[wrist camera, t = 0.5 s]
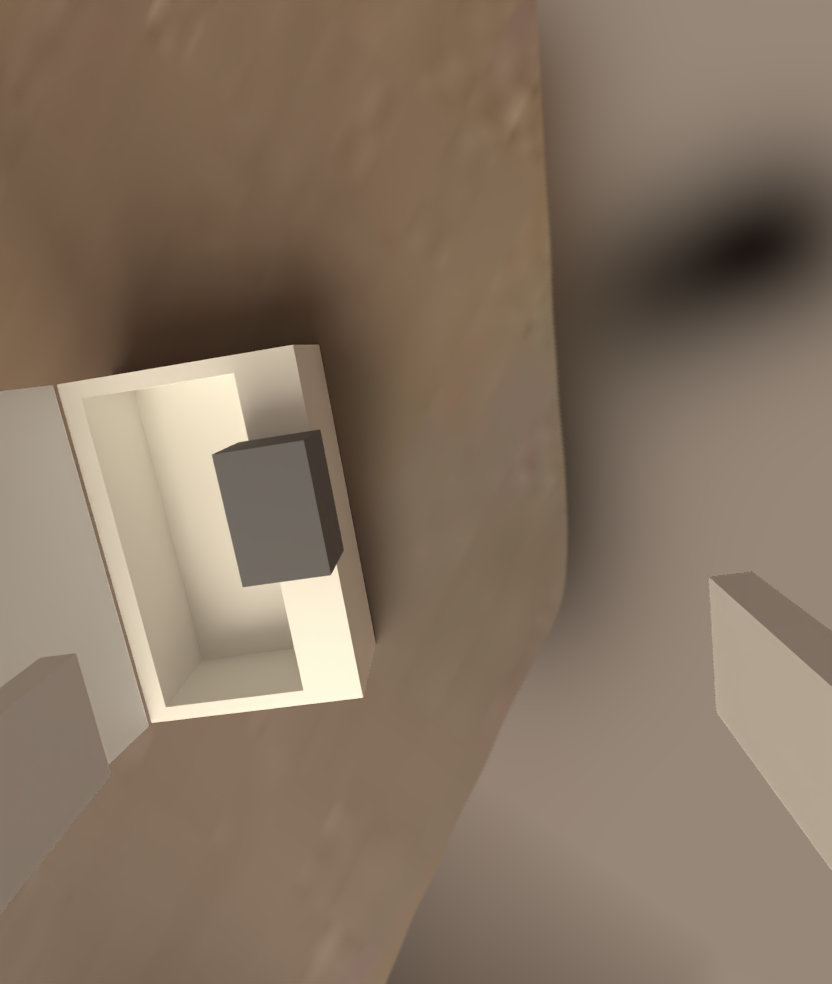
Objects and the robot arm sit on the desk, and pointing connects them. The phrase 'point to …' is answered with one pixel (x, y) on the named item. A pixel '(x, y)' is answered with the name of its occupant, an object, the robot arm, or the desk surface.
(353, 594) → the open white tray
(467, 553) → the desk surface
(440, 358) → the desk surface
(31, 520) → the cover
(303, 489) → the plug block
